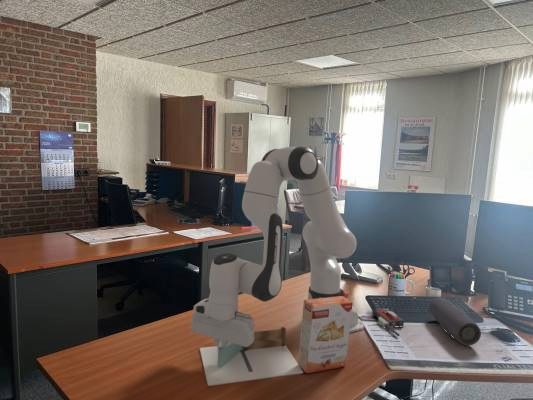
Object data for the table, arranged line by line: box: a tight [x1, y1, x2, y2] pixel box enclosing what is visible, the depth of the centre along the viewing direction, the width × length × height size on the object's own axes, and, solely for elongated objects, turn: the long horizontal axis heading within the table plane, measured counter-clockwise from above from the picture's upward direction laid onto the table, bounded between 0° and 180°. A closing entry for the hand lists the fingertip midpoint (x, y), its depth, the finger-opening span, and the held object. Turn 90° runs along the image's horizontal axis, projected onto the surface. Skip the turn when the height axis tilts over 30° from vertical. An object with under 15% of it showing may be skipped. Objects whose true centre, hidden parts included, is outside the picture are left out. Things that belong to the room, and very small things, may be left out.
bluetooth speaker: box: [428, 296, 482, 346], centre depth 143 cm, size 23×9×10 cm, turn 0°
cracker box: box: [297, 296, 353, 375], centre depth 116 cm, size 14×6×21 cm, turn 114°
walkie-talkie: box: [372, 307, 405, 337], centre depth 148 cm, size 9×4×20 cm
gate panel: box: [218, 342, 243, 367], centre depth 119 cm, size 13×1×6 cm, turn 152°
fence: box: [244, 326, 287, 351], centre depth 127 cm, size 14×2×6 cm, turn 106°
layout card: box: [199, 344, 304, 387], centre depth 119 cm, size 28×20×1 cm
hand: (221, 352), depth 117 cm, fingers closed
